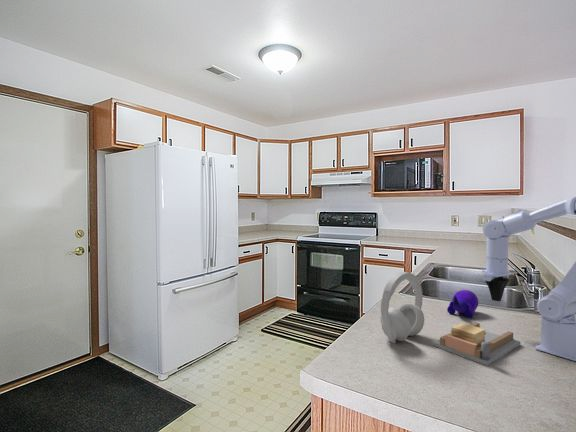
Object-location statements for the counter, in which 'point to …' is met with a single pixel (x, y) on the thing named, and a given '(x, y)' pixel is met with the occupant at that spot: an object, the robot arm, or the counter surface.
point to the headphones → (401, 310)
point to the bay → (486, 352)
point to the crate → (469, 333)
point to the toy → (463, 303)
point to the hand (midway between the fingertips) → (496, 300)
